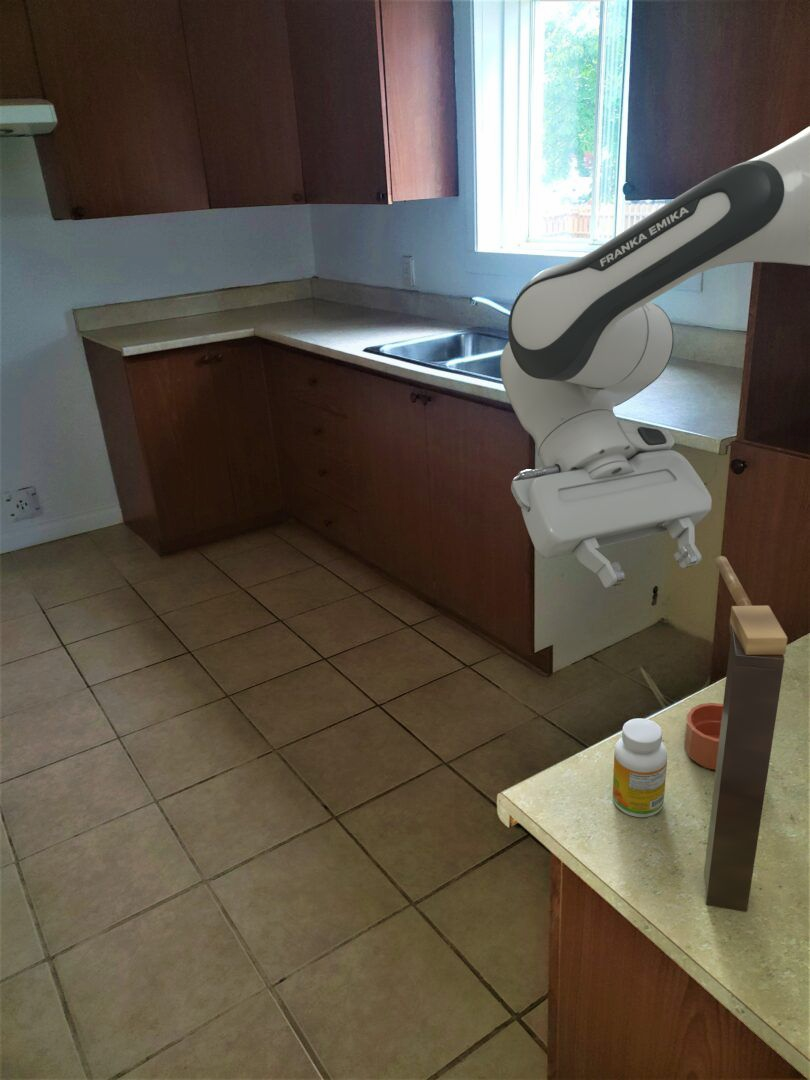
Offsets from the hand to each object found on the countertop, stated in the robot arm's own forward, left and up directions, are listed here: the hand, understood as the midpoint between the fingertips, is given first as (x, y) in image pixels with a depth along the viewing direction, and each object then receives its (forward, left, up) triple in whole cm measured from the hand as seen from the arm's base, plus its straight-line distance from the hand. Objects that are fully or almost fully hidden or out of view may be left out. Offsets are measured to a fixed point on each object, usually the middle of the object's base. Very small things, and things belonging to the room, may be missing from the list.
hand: (655, 573), depth 78 cm
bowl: (-8, -8, -28) cm, 30 cm away
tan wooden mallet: (-7, +6, 0) cm, 9 cm away
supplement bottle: (0, +1, -28) cm, 28 cm away
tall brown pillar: (-8, +12, -28) cm, 31 cm away
